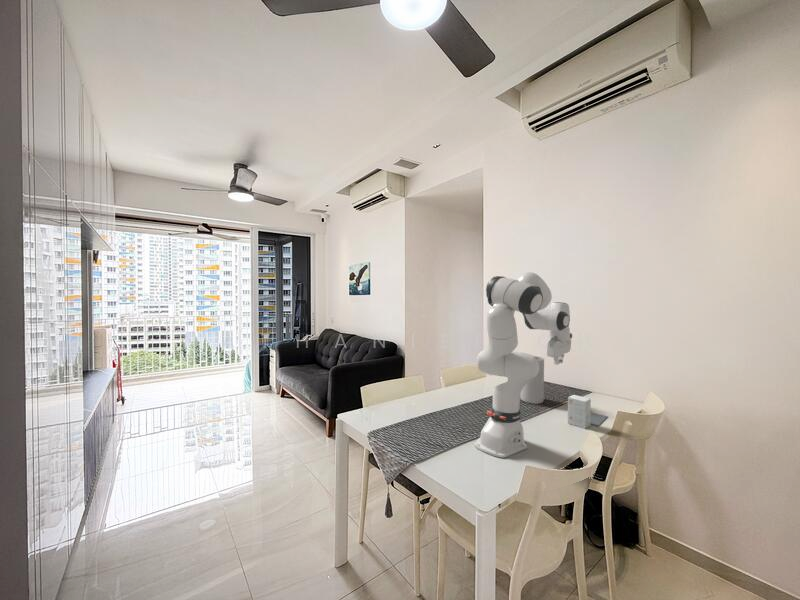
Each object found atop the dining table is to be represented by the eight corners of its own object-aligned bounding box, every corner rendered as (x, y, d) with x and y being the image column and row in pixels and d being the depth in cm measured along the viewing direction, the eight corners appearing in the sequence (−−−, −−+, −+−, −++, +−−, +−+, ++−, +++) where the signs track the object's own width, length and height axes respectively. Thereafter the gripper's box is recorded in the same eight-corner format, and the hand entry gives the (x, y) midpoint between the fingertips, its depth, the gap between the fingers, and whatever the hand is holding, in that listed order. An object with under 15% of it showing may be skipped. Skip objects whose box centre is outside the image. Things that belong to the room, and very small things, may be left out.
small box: (590, 425, 151) (591, 398, 150) (585, 429, 147) (585, 401, 146) (572, 419, 157) (573, 394, 157) (567, 423, 153) (567, 397, 153)
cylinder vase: (536, 396, 191) (537, 355, 190) (547, 404, 178) (548, 360, 177) (516, 396, 190) (517, 355, 189) (526, 404, 178) (527, 360, 176)
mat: (597, 426, 150) (597, 425, 150) (577, 420, 156) (577, 419, 156) (607, 417, 160) (607, 416, 160) (587, 411, 167) (587, 411, 167)
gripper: (557, 338, 143) (556, 368, 144) (573, 334, 157) (573, 361, 158) (543, 336, 148) (543, 366, 149) (560, 332, 162) (559, 359, 162)
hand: (558, 363), depth 153 cm, fingers open, 3 cm apart
